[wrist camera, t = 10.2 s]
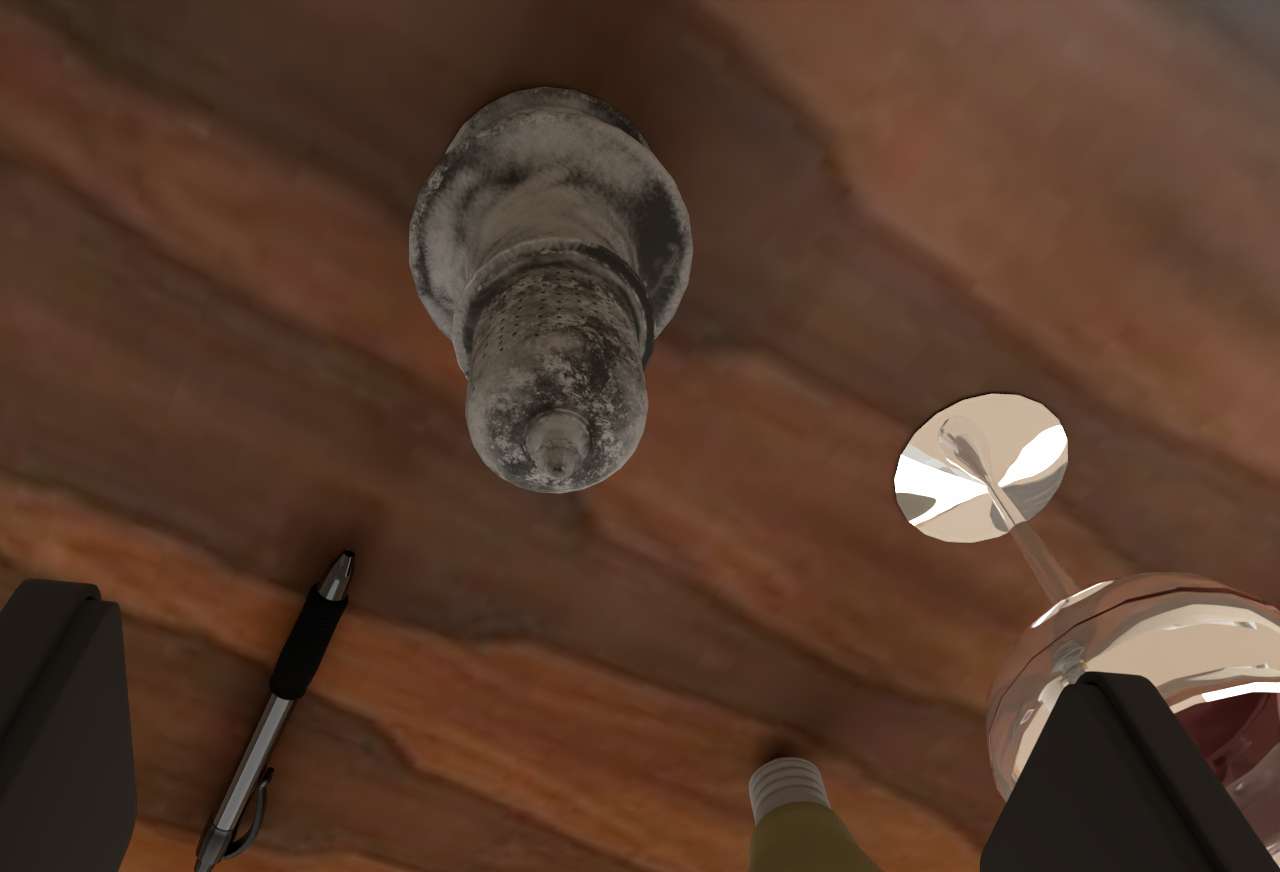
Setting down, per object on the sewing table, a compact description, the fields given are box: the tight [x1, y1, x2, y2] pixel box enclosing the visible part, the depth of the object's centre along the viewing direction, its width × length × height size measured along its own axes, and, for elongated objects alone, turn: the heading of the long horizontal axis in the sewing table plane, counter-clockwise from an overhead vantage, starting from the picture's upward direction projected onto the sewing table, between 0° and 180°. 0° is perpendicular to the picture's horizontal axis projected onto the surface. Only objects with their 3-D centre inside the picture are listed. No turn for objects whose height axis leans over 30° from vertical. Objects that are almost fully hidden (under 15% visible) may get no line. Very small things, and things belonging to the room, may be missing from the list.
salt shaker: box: [409, 87, 693, 493], centre depth 20 cm, size 6×6×12 cm
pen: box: [194, 549, 355, 872], centre depth 32 cm, size 14×2×1 cm, turn 153°
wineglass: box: [895, 394, 1280, 868], centre depth 25 cm, size 7×7×12 cm
